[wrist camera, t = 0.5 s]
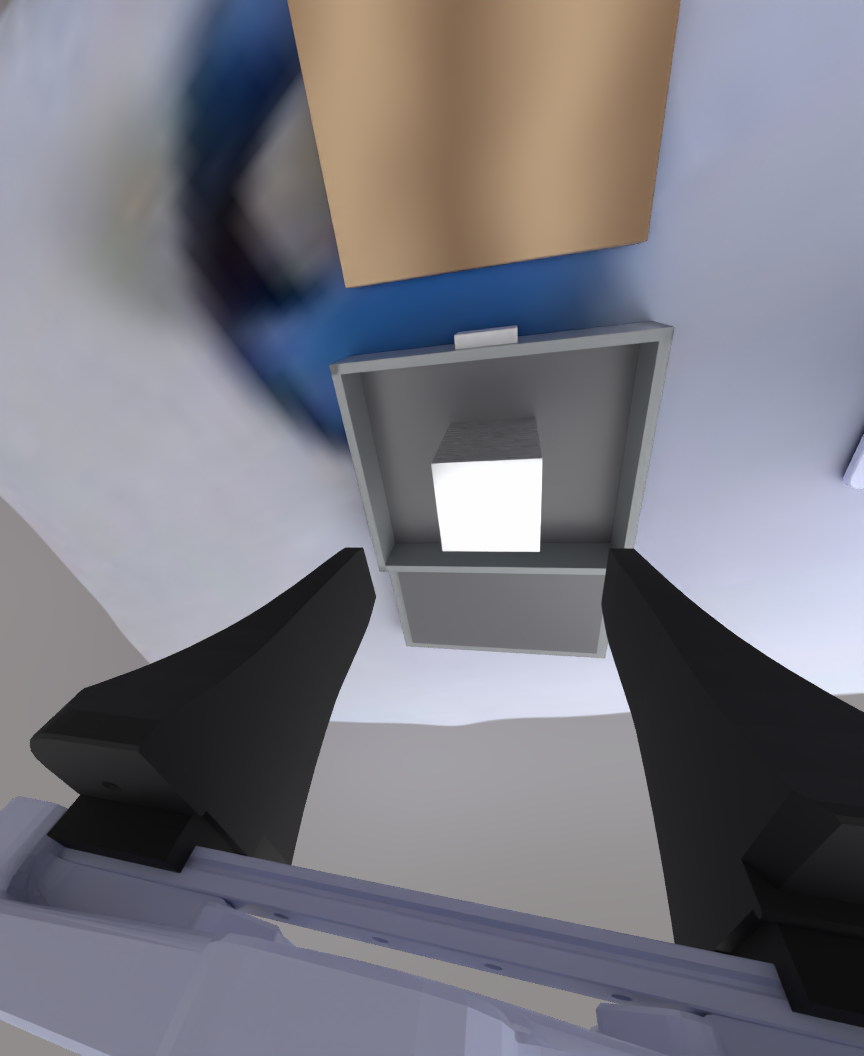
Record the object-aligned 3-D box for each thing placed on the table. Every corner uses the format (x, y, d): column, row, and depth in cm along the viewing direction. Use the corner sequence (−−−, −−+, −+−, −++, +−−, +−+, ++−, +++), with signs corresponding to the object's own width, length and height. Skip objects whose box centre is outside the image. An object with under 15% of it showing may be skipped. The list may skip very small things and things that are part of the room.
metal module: (535, 417, 17) (542, 458, 13) (534, 497, 20) (539, 554, 15) (449, 423, 18) (430, 463, 14) (457, 499, 20) (442, 554, 16)
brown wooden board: (695, -215, 9) (718, -275, 8) (637, 243, 14) (647, 240, 13) (289, -60, 12) (268, -92, 11) (356, 287, 16) (345, 287, 15)
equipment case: (654, 306, 15) (677, 310, 13) (601, 643, 24) (609, 676, 22) (348, 343, 18) (325, 351, 15) (410, 633, 27) (401, 661, 25)
